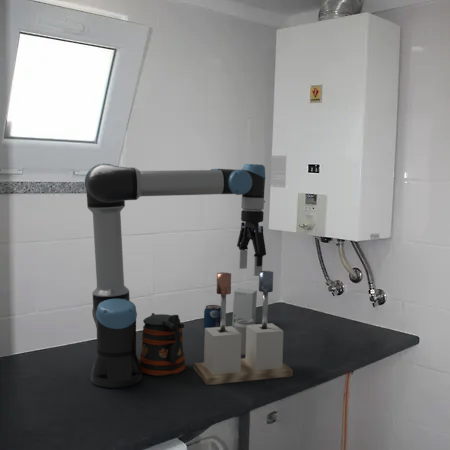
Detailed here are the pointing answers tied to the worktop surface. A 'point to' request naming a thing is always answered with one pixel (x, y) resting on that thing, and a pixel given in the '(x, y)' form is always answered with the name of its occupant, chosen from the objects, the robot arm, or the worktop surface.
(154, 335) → the beer stein
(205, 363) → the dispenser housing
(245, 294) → the skincare box
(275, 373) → the base board
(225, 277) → the plunger
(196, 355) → the worktop surface
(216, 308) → the soda can
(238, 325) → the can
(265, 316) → the plunger
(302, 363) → the worktop surface
